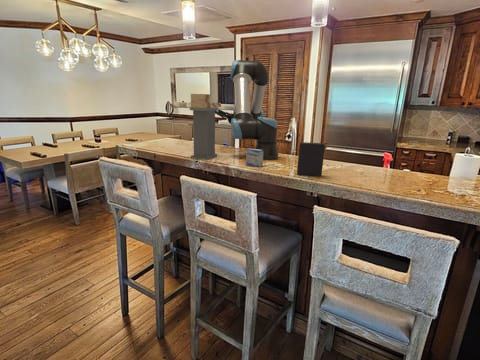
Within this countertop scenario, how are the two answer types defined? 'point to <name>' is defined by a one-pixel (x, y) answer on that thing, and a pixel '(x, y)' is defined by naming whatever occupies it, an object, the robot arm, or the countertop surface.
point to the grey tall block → (204, 132)
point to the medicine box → (254, 157)
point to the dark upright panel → (310, 159)
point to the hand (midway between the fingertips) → (223, 105)
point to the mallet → (202, 101)
